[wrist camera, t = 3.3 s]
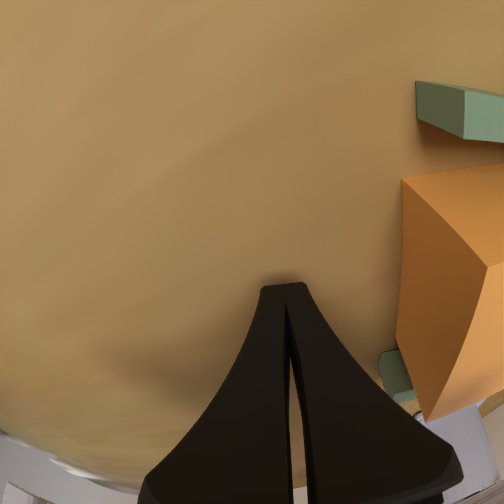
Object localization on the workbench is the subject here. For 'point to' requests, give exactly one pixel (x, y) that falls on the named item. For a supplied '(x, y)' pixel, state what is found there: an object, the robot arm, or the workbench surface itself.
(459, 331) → the orange square block
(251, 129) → the workbench surface
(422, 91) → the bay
